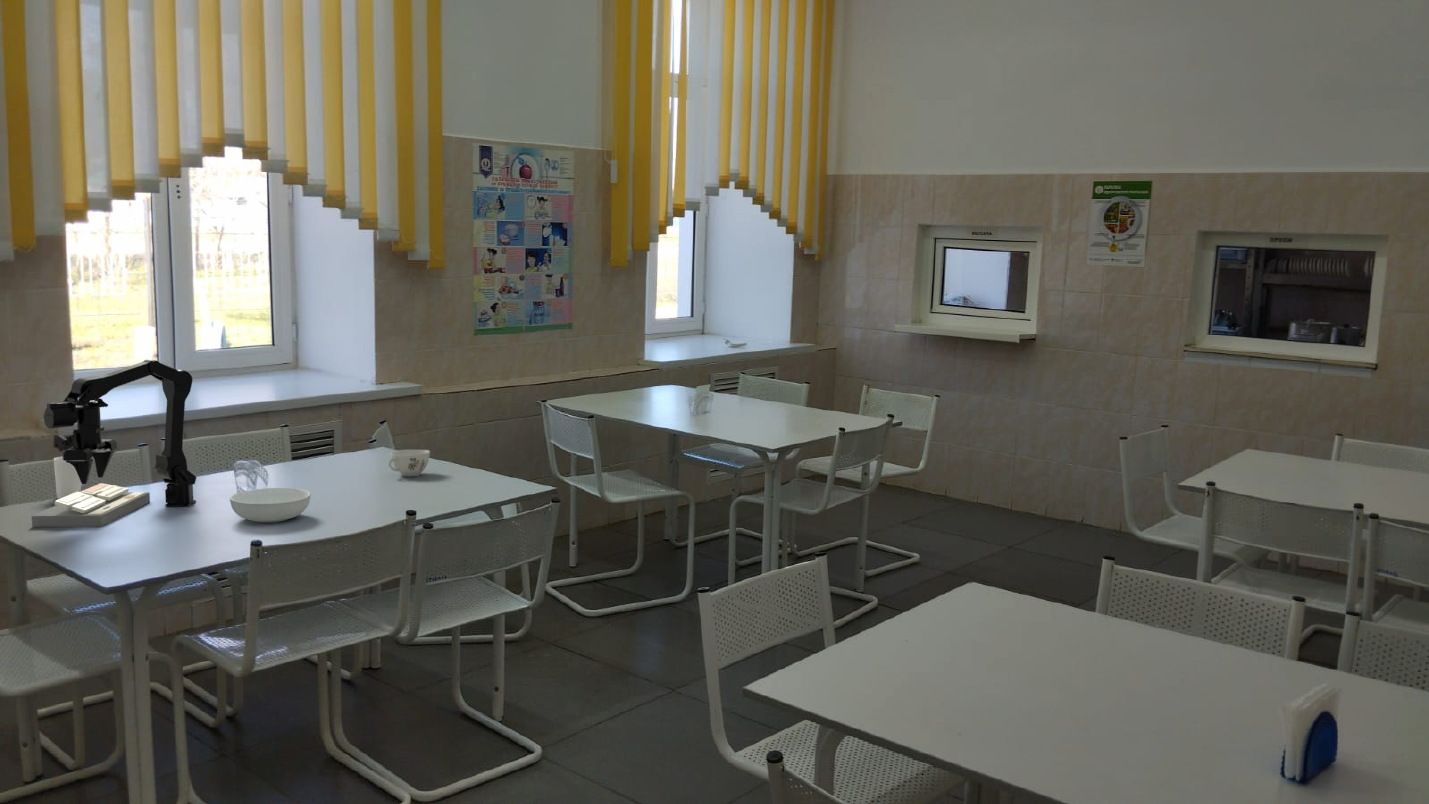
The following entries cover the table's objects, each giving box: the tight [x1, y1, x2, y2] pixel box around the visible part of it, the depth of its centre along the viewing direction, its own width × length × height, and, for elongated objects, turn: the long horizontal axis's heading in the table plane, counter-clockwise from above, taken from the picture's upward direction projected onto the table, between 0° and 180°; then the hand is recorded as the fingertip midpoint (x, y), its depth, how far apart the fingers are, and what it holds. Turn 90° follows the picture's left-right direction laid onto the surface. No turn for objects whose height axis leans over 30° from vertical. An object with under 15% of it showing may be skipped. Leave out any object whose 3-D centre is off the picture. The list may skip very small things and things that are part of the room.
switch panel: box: [31, 491, 151, 528], centre depth 316 cm, size 18×30×4 cm, turn 4°
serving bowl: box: [229, 487, 311, 524], centre depth 312 cm, size 21×21×7 cm
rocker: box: [54, 492, 106, 514], centre depth 308 cm, size 8×12×1 cm, turn 4°
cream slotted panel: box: [81, 482, 129, 500], centre depth 322 cm, size 8×12×1 cm, turn 4°
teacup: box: [388, 449, 431, 478], centre depth 375 cm, size 15×12×8 cm
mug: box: [53, 455, 86, 500], centre depth 338 cm, size 10×7×12 cm, turn 156°
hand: (92, 480), depth 308 cm, fingers open, 9 cm apart
